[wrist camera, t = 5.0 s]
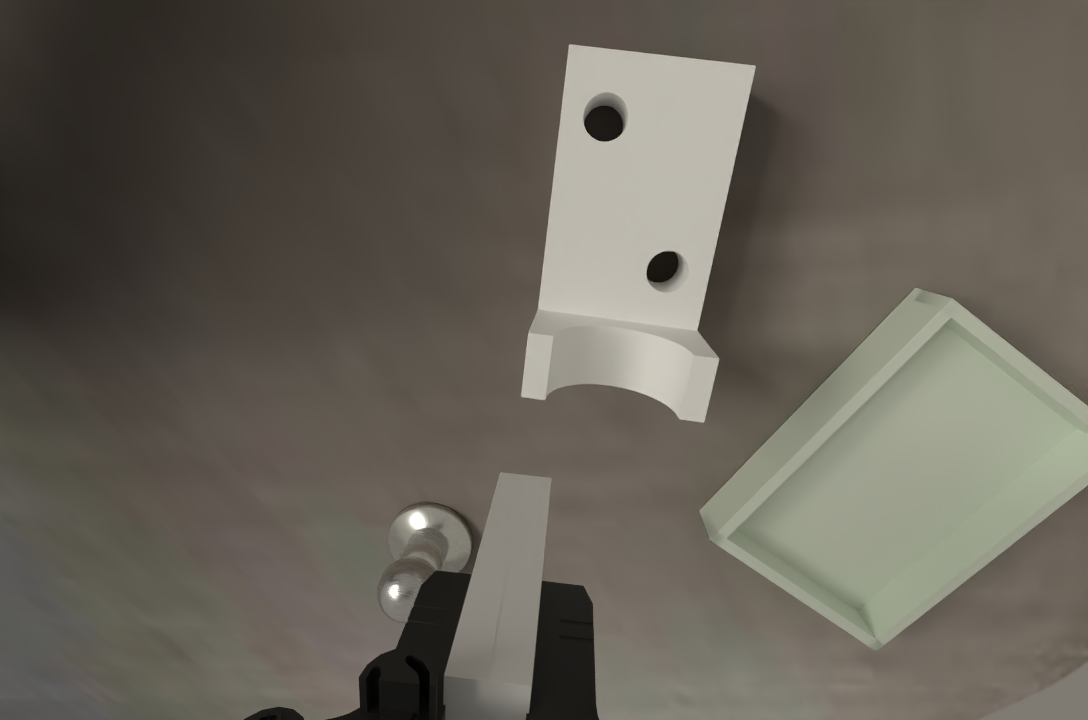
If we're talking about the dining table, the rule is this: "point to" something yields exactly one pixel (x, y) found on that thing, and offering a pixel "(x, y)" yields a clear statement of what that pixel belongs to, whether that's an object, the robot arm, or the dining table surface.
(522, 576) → the robot arm
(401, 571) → the metal knob
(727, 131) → the bracket
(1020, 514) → the tray
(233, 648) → the dining table surface
